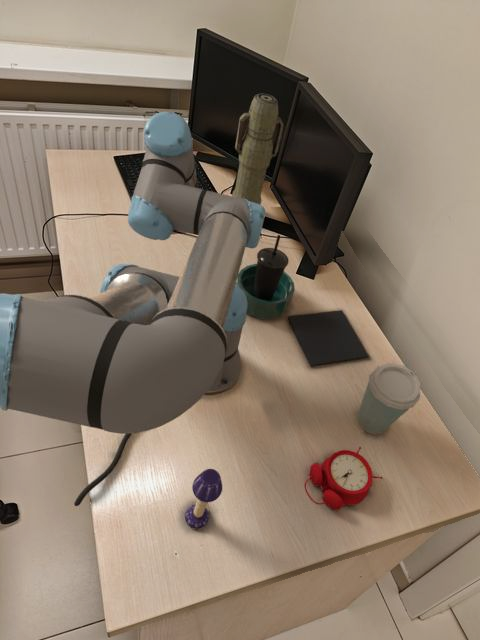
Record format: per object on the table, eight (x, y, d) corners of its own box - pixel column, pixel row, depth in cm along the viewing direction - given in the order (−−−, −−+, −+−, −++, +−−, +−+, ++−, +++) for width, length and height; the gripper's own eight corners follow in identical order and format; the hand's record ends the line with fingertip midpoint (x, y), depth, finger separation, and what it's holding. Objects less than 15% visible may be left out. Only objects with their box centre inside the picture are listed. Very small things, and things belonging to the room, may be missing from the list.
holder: (367, 358, 114) (369, 356, 114) (310, 367, 109) (311, 365, 108) (341, 312, 123) (342, 310, 123) (286, 318, 118) (287, 316, 117)
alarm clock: (390, 482, 89) (337, 507, 80) (373, 497, 93) (320, 524, 84) (358, 438, 94) (305, 457, 85) (343, 454, 98) (290, 475, 89)
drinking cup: (276, 311, 118) (295, 249, 103) (246, 306, 117) (262, 242, 102) (276, 291, 123) (295, 229, 108) (248, 286, 122) (263, 223, 107)
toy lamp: (211, 504, 83) (224, 461, 71) (213, 530, 80) (227, 491, 68) (184, 505, 82) (192, 463, 69) (185, 532, 79) (194, 492, 66)
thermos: (221, 206, 144) (239, 87, 118) (257, 206, 148) (282, 92, 122) (228, 223, 139) (248, 103, 113) (265, 223, 143) (293, 107, 117)
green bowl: (286, 326, 116) (292, 309, 111) (228, 312, 115) (232, 294, 111) (291, 288, 126) (297, 271, 121) (238, 275, 125) (242, 258, 120)
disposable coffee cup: (368, 450, 97) (398, 411, 86) (337, 410, 102) (361, 369, 91) (402, 430, 102) (435, 391, 91) (371, 394, 107) (398, 353, 96)
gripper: (244, 177, 90) (242, 226, 111) (118, 147, 89) (139, 202, 110) (236, 212, 88) (235, 254, 109) (108, 182, 88) (131, 230, 109)
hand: (187, 228), depth 110 cm, fingers open, 13 cm apart
